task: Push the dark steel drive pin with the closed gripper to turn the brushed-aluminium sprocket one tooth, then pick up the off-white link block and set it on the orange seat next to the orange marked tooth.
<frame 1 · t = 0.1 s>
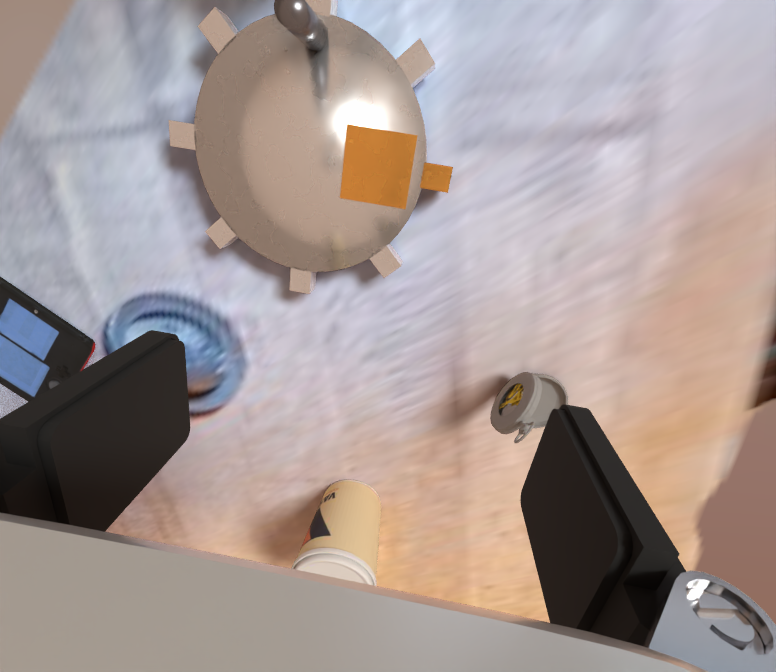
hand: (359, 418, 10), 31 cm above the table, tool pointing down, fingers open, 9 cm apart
coffee cup: (352, 500, 54), on the table
game console: (32, 340, 50), on the table
sprocket: (300, 156, 32), point 5 cm above the table, hinge at 0.0°
pocket watch: (525, 390, 44), on the table
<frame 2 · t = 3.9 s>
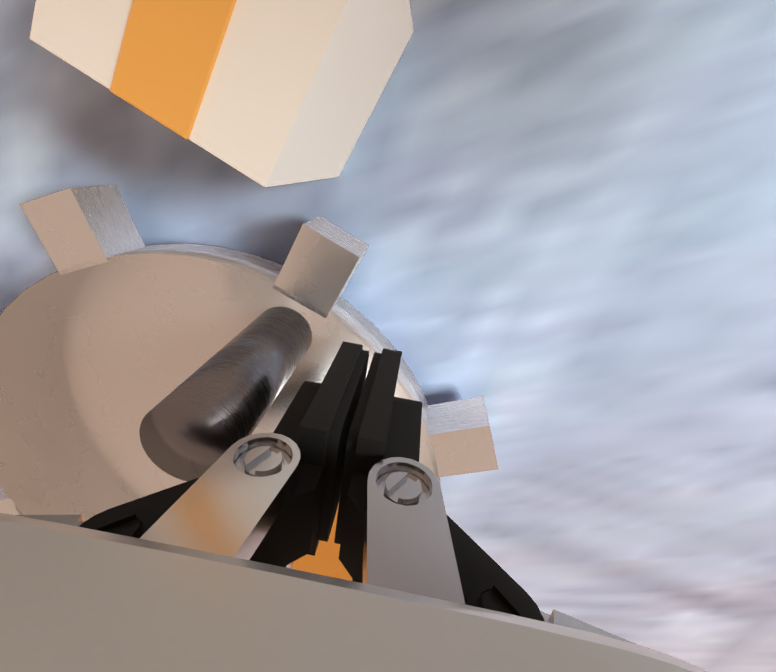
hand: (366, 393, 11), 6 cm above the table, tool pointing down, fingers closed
link block: (309, 65, 13), on the table
sprocket: (176, 527, 15), point 5 cm above the table, hinge at 1.4°, touching gripper
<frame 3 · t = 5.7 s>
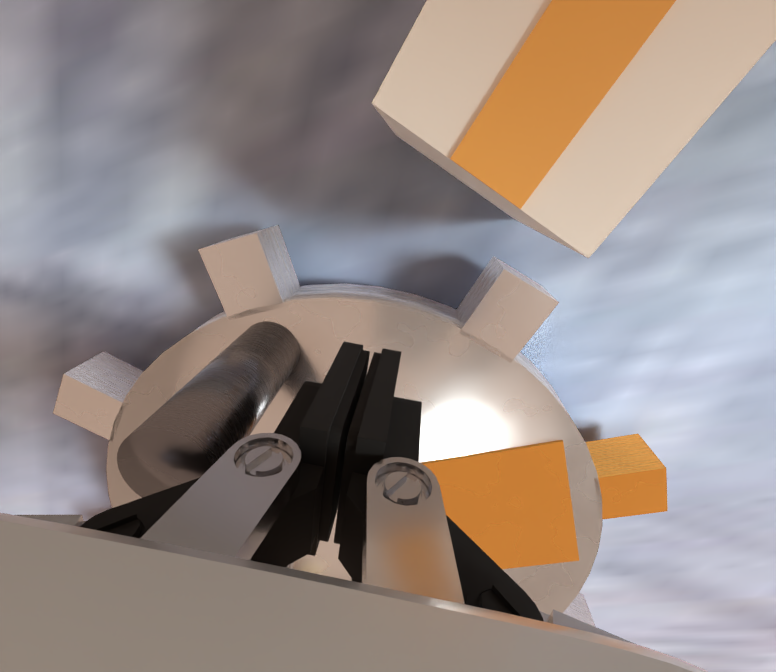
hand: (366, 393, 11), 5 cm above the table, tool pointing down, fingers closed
link block: (502, 108, 13), on the table
sprocket: (335, 579, 15), point 5 cm above the table, hinge at 47.7°, touching gripper
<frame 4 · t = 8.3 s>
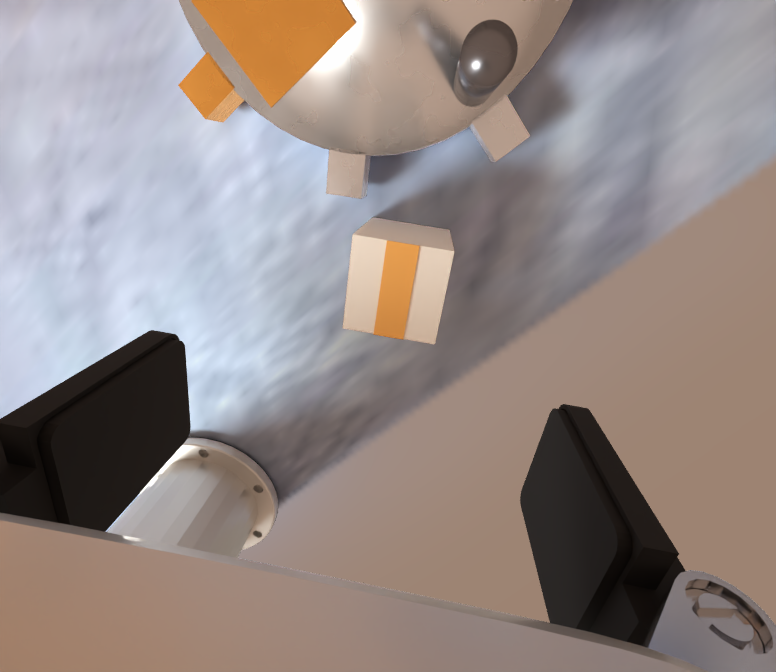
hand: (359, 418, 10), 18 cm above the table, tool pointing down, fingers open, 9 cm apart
link block: (404, 261, 27), on the table
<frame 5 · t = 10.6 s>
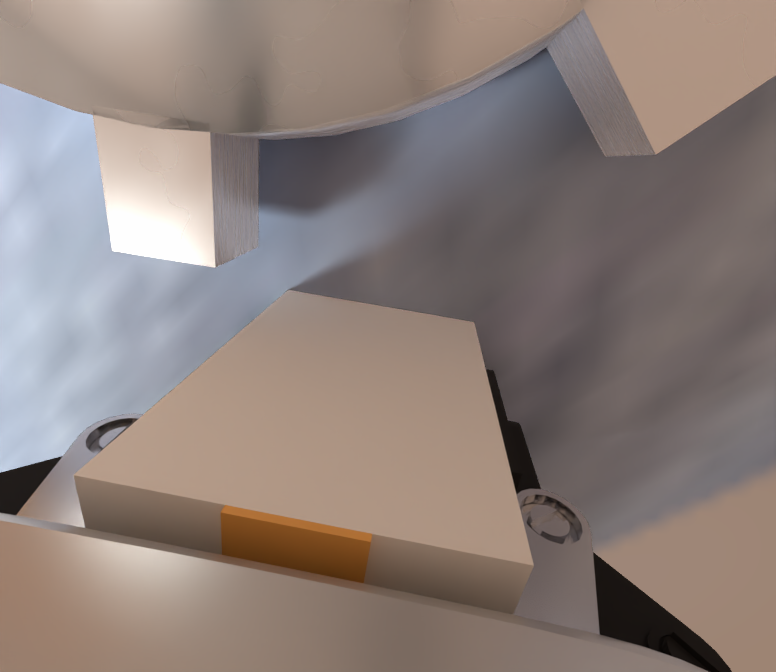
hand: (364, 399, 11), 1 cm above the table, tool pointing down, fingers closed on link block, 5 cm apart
link block: (368, 386, 12), on the table, touching gripper
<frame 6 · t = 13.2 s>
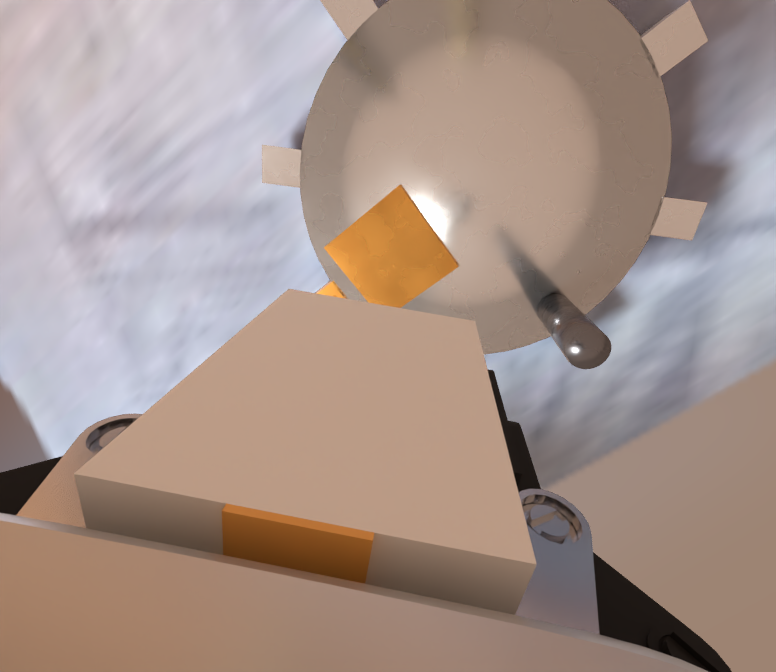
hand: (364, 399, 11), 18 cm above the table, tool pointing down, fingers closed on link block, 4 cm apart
link block: (369, 385, 12), point 17 cm above the table, touching gripper
sprocket: (478, 194, 21), point 5 cm above the table, hinge at 45.5°
when the fingers open (5 cm above the table, at t = 16.1 s): link block drops 1 cm, resting on sprocket.
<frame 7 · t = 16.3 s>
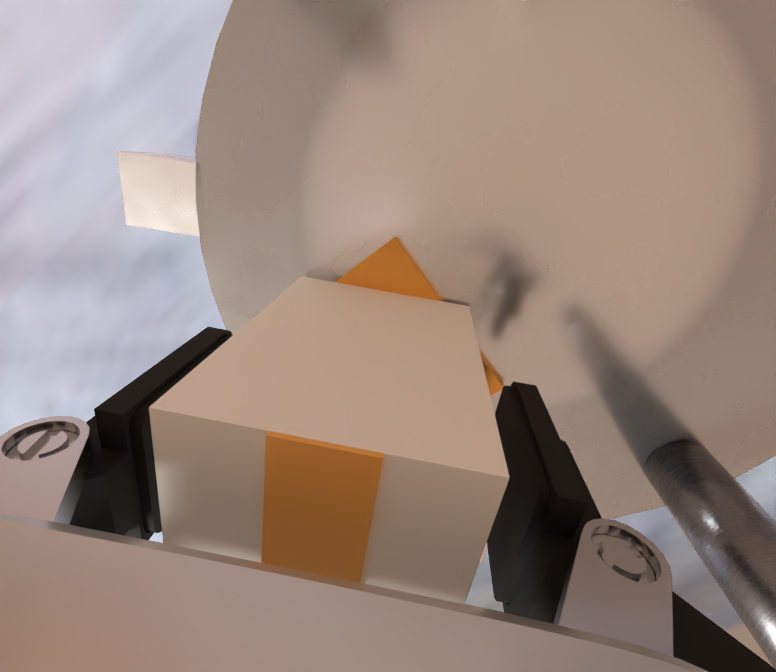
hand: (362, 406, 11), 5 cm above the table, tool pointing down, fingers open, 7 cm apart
link block: (373, 365, 13), point 3 cm above the table, touching sprocket
sprocket: (569, 274, 9), point 5 cm above the table, hinge at 45.5°, touching link block
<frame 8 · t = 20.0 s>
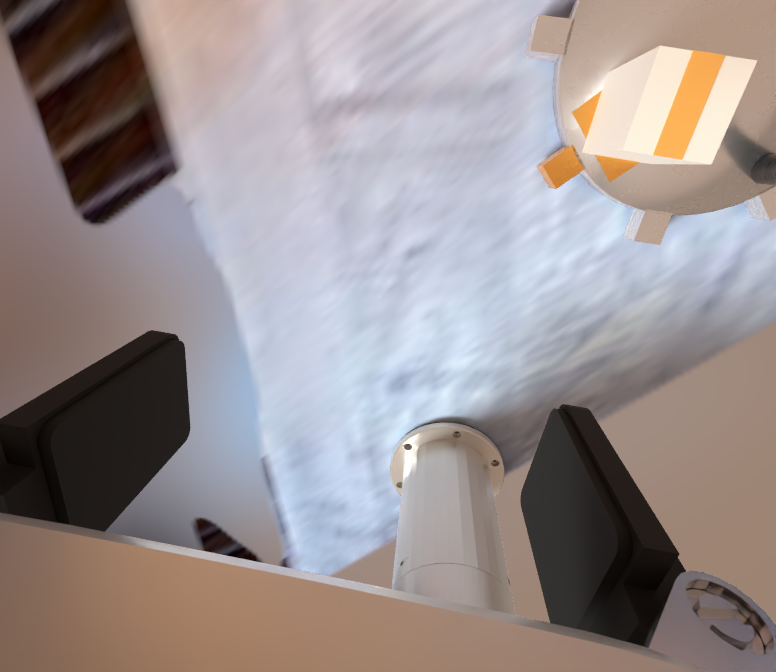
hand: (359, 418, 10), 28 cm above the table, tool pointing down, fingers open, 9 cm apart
link block: (629, 119, 28), point 3 cm above the table, touching sprocket
sprocket: (741, 49, 25), point 5 cm above the table, hinge at 45.5°, touching link block
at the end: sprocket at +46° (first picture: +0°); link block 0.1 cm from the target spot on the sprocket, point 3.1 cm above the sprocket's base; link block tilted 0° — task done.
